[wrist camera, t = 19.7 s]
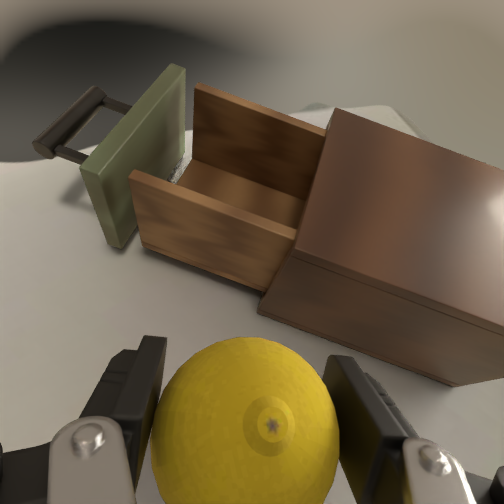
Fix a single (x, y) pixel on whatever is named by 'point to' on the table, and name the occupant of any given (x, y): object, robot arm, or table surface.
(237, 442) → the lemon
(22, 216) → the table surface
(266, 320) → the table surface
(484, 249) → the cabinet
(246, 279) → the drawer
